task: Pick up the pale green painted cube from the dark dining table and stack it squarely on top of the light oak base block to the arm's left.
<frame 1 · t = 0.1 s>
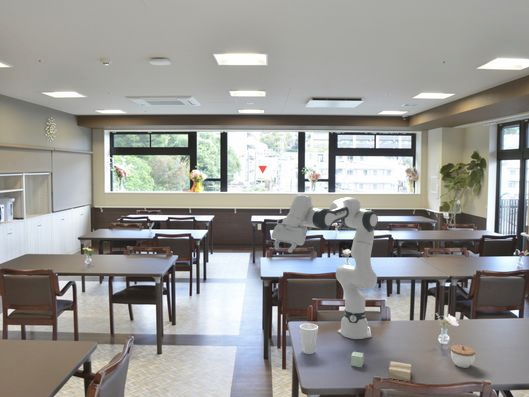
hand: (282, 250, 208), 54 cm above the table, tool tilted 30°, fingers open, 8 cm apart
green cube: (357, 364, 209), on the table
lidded jar: (462, 365, 209), on the table
oak base: (400, 375, 197), on the table
foam cup: (308, 351, 223), on the table
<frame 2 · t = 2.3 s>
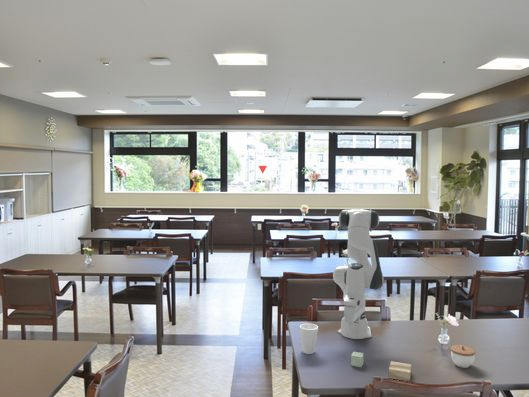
hand: (354, 327, 206), 19 cm above the table, tool pointing down, fingers open, 8 cm apart
nothing on the table moved.
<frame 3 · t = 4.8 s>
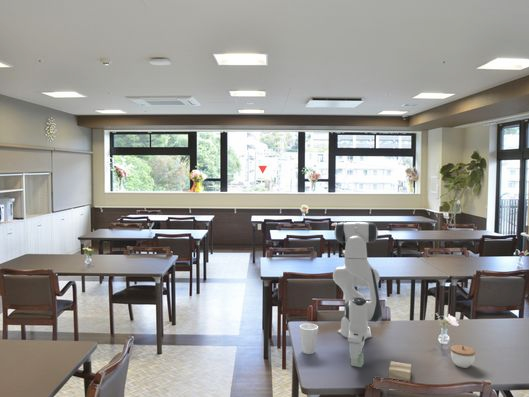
hand: (357, 360, 208), 2 cm above the table, tool pointing down, fingers closed on green cube, 5 cm apart
green cube: (357, 364, 208), on the table, touching gripper
everything else where it was.
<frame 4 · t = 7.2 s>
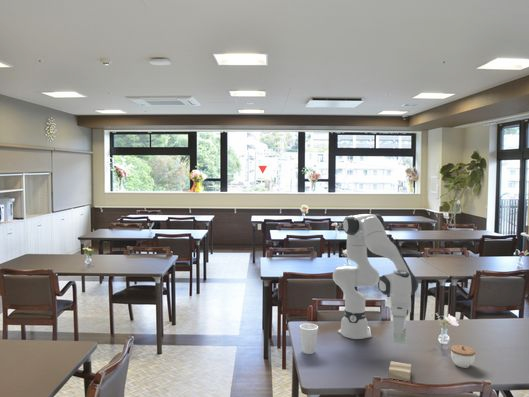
hand: (399, 337, 196), 18 cm above the table, tool pointing down, fingers closed on green cube, 5 cm apart
green cube: (399, 340, 196), point 16 cm above the table, touching gripper
everything else where it was.
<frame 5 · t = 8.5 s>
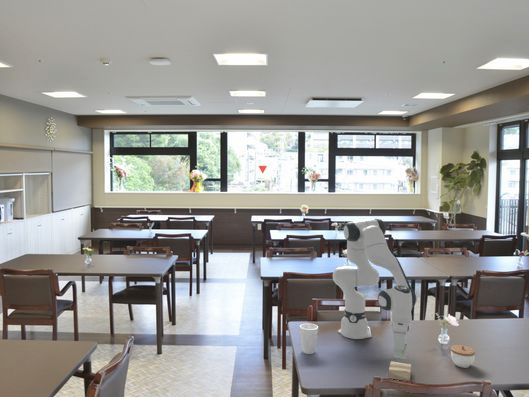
hand: (400, 352, 197), 11 cm above the table, tool pointing down, fingers closed on green cube, 5 cm apart
green cube: (400, 356, 197), point 9 cm above the table, touching gripper
everything else where it was.
when the fingers open (7 cm above the table, at t = 9.6 s): green cube drops 1 cm, resting on oak base.
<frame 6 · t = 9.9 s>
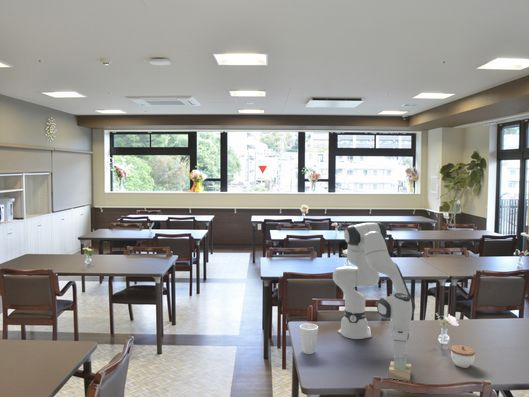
hand: (400, 360, 197), 7 cm above the table, tool pointing down, fingers open, 8 cm apart
green cube: (400, 366, 197), point 4 cm above the table, touching oak base
everything else where it was.
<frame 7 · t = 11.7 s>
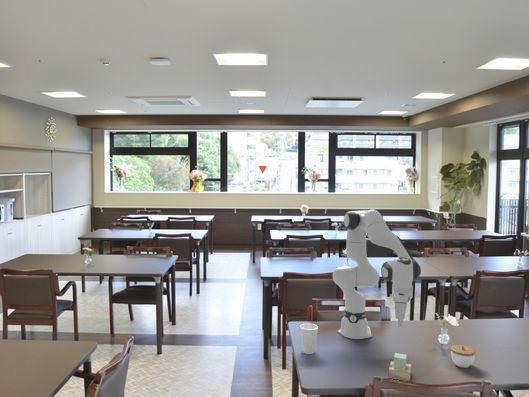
hand: (401, 322, 200), 23 cm above the table, tool pointing down, fingers open, 8 cm apart
nothing on the table moved.
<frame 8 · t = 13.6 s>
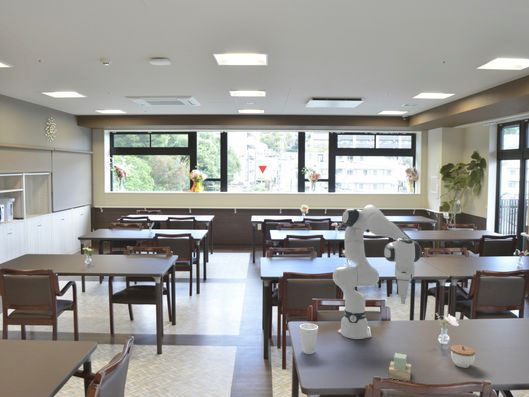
hand: (403, 301, 207), 31 cm above the table, tool pointing down, fingers open, 8 cm apart
nothing on the table moved.
at the end: green cube 0.1 cm off-centre on the oak base, point 4.0 cm above the oak base's base; green cube tilted 0°; the gripper is holding nothing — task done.
